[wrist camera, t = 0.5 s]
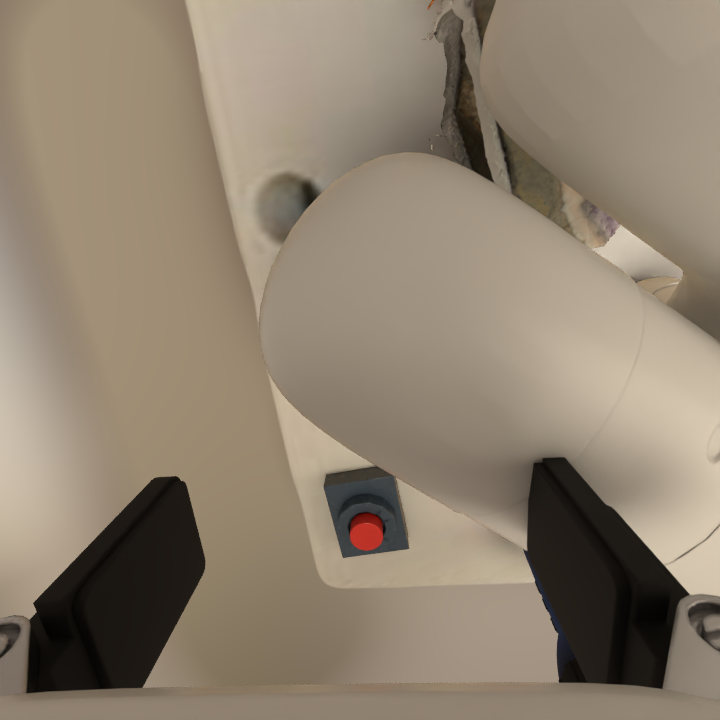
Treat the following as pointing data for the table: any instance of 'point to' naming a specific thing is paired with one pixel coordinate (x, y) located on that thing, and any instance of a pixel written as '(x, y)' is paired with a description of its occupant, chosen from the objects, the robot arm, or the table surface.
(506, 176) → the gemstone
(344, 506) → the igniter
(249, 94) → the table surface
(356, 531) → the button
